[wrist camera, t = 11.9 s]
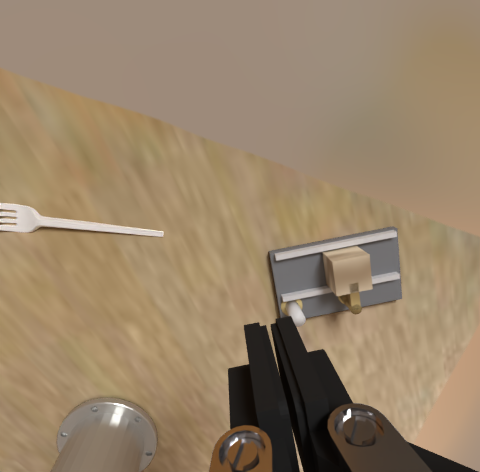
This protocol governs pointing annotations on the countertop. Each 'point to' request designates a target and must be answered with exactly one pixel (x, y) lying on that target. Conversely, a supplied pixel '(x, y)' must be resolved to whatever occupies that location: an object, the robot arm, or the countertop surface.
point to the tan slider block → (348, 274)
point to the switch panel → (314, 281)
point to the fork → (59, 222)
